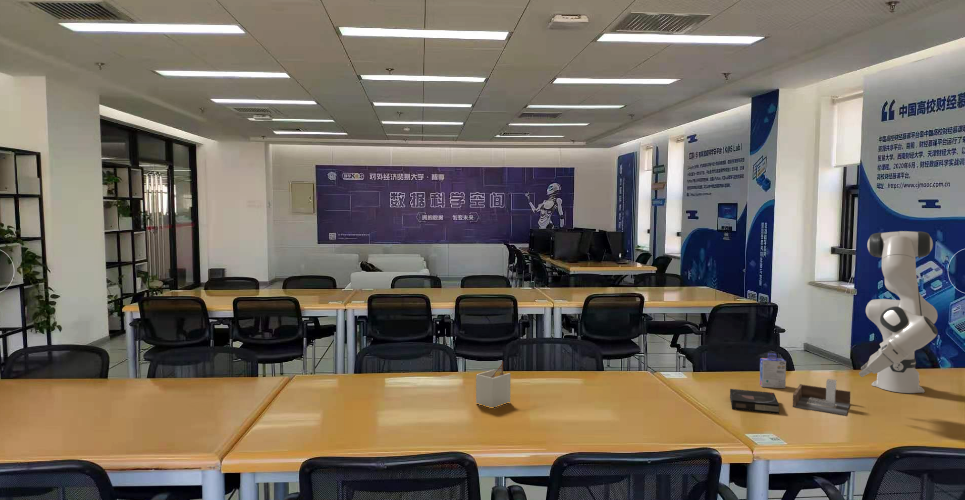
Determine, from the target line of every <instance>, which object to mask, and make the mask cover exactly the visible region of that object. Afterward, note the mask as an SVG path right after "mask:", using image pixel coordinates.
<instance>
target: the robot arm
mask: <svg viewBox="0 0 965 500" xmlns="http://www.w3.org/2000/svg"><path fill="white" fill-rule="evenodd" d="M930 235H931V234H929V233H928V232H925V231H912V230H911V231H907V230H904V231H903V230H899V231H889V232H888V231H887V232H876V233H872V234H871V235H870V236H869V238H868V240H867V245H866V246H867V250H868V253H869V255H871V256H872V257H876V258H881V272H882V275H883V277H884V285H885V288H886V289H887V290H888V291H889V292H891V293H893V294H895V295H896V296H898V297H899V299H889V298H878V299H871V300H869V302H867V305H866V307H865V314H866V317H867V318H868V319H869V320H870V321H871V322H872V323H874V325H875V326H876V327H877V329H878V330H879V332H880V333H881V335H882V342H880V343H879V346H880V348H878V350H877V351H875V352H874V353H873V354H871V355H870V356H869V359H868V361H867V362H865V364H863V365H862V366H861V367H860V371H859V372H858V375H859V376H860V377H862V378H863V377H865V376H866V375H870V374H871V373H872V374H877V375H876V380H874V381H873V382H872V383H871V386H873V387H877V388H879V389H882V390H885V391H889V392H893V393H894V392H895V393H900V394H901V393H902V394H916V393H921V394H924V393H925V389H924V388H923V387H922V386H921V385H920V372H919V371H918V370H917V369H916V365H917V362H916V358H915V352H916V351H917V350H920V349H923V348H924V347H925V346H926V345H928V344H929V343H930V342H931V341H934V339H935V338H936V337H937V335H938V334H939V333H938V328H937V326H936V325H935V324H936V322H937V320H938V311H937V309H936V308H935V306H933V304H930V302H928V301H927V300H925V298H924V297H923V296H922V294H921V293H920V290H919V283H918V279H917V265H916V263H917V262H916V261H917V260H916V258H918V259H921V258H924V257H927V256H928V255H930V253H931V251H932V250H933V247H934V243H933V239H932V237H931V236H930Z"/></svg>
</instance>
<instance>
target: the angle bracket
mask: <svg viewBox="0 0 965 500" xmlns="http://www.w3.org/2000/svg"><path fill="white" fill-rule="evenodd" d="M825 383H826V384H825V388H826V400H825V399H819V398H812V397H810V398H809V400H808V403H810V404H816V405H822V406H828V407H835V405H836V390H837V380H836V379H832V378H831V379H830V378H827V379H826V382H825Z"/></svg>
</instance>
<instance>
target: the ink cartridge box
mask: <svg viewBox="0 0 965 500" xmlns="http://www.w3.org/2000/svg"><path fill="white" fill-rule="evenodd" d="M786 369H787V360H785V359H784V358H778V356H777V353H770V352H768V353H767V358H765V357H760V358H759V385H760V386H761V387H762V388H772V389H773V388H775V389H776V388H777V389H786V383H787V382H786V378H787V374H786V372H787V371H786Z"/></svg>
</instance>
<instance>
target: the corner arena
mask: <svg viewBox="0 0 965 500" xmlns="http://www.w3.org/2000/svg"><path fill="white" fill-rule="evenodd" d="M810 397H812V398H819V399H825V400H826V387H821V386H814V385H809V384H807V385H806V384H802V383H799V385H798V387H797V388H796V390H795V391H794V392H793V394H792V408H796V409H803V410H807V411H808V410H809V411H813V412H814V411H815V412H822V413H827V414H832V415H833V414H834V415H837V416H838V415H839V416H845V417H846V416H847V415H848V414H847V413H848V412H849V409H850V406H851V391H849V390H842V389H836V405H835V407H828V406H822V405H816V404H810V403H808V400H809V398H810Z"/></svg>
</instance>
